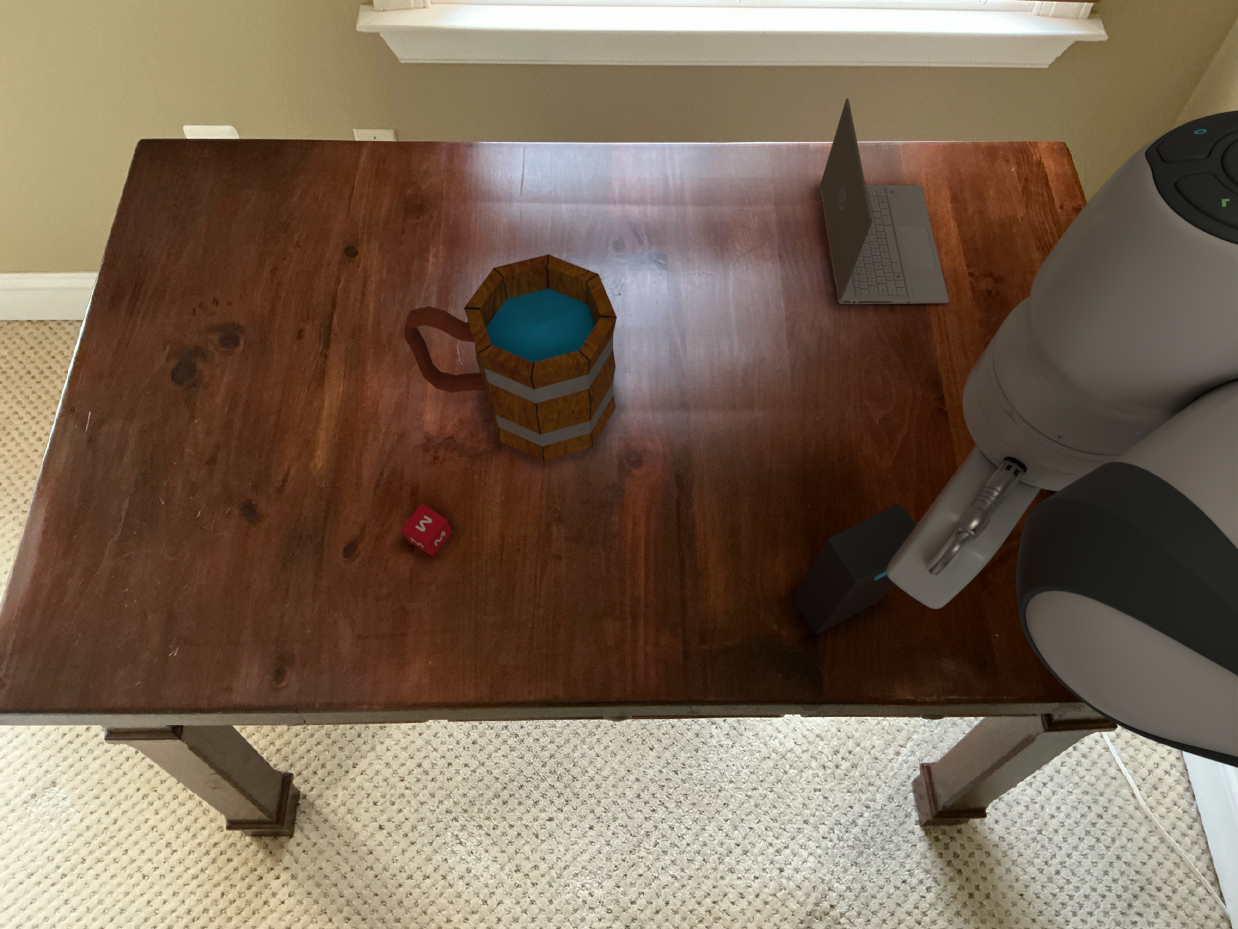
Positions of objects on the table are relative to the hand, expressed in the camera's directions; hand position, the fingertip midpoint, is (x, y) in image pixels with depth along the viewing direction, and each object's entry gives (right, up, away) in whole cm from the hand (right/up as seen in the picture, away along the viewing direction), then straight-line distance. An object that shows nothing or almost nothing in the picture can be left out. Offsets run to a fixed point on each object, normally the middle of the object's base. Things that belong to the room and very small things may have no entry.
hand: (971, 497), depth 54 cm
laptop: (+8, +28, +43) cm, 52 cm away
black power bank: (-3, -10, +23) cm, 25 cm away
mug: (-33, +9, +32) cm, 47 cm away
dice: (-41, -5, +25) cm, 48 cm away
